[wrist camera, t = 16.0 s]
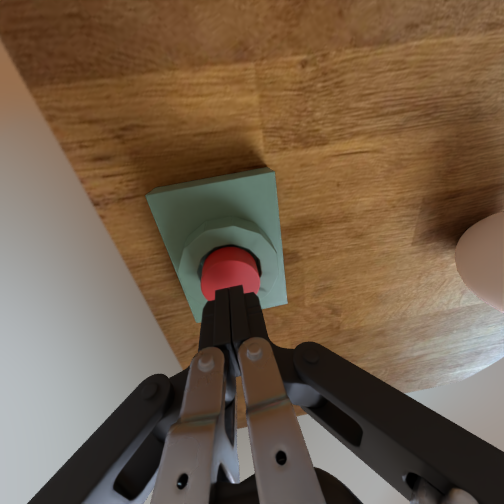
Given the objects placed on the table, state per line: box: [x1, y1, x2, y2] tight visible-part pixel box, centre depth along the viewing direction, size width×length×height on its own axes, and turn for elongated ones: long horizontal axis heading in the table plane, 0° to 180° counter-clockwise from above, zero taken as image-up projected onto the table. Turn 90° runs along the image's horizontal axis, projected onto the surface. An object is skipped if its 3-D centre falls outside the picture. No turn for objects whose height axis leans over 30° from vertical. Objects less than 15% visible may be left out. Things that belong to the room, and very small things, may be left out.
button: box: [201, 247, 260, 301], centre depth 14 cm, size 4×4×2 cm
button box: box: [145, 167, 287, 323], centre depth 16 cm, size 8×11×4 cm
